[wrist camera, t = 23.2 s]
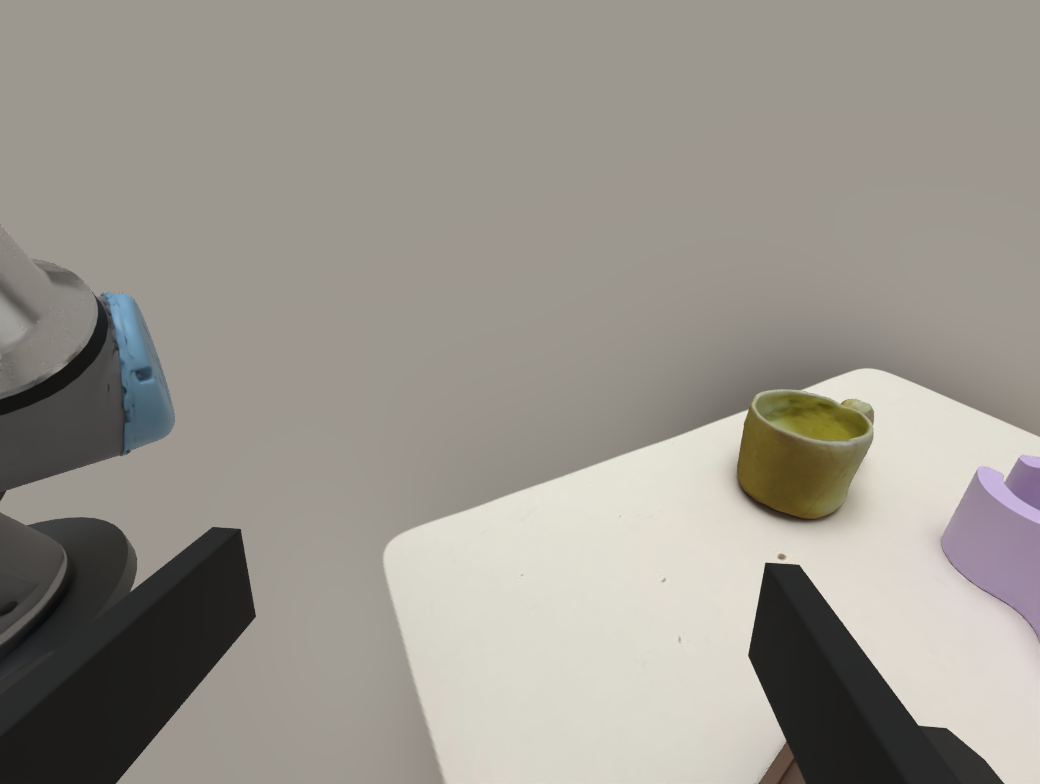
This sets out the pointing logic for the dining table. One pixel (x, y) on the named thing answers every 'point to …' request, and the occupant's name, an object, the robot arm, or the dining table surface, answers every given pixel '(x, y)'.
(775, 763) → the brown square tray
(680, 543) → the dining table surface
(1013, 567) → the clip
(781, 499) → the mug
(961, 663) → the dining table surface
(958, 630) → the dining table surface
